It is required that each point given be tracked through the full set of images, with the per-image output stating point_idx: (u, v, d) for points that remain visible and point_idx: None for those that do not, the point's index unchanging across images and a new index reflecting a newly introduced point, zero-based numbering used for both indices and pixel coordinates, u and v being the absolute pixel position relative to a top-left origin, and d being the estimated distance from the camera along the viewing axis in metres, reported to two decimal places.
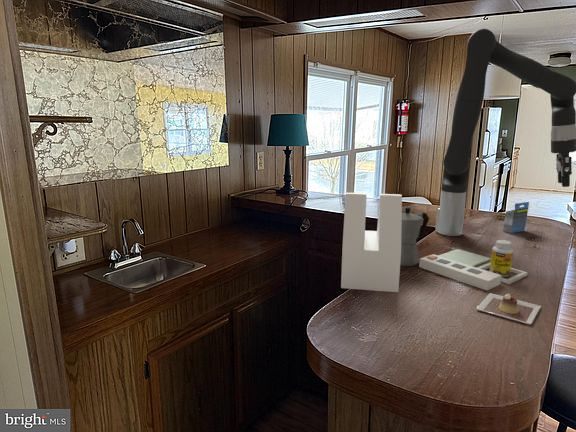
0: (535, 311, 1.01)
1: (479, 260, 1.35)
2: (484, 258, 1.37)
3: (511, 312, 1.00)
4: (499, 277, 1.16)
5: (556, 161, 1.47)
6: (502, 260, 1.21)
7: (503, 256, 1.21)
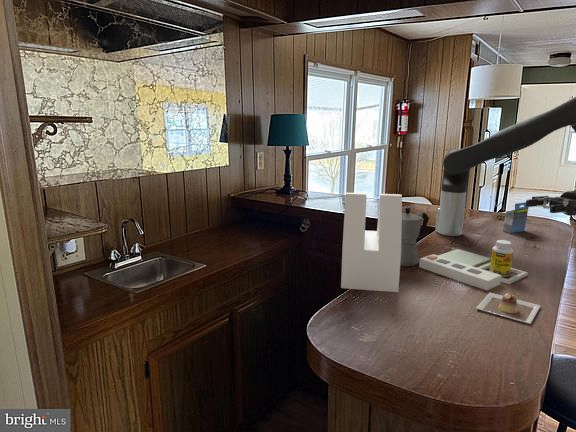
0: (535, 310, 1.01)
1: (479, 260, 1.35)
2: (484, 258, 1.37)
3: (511, 311, 1.01)
4: (499, 277, 1.16)
5: (557, 197, 1.26)
6: (502, 260, 1.21)
7: (503, 256, 1.21)
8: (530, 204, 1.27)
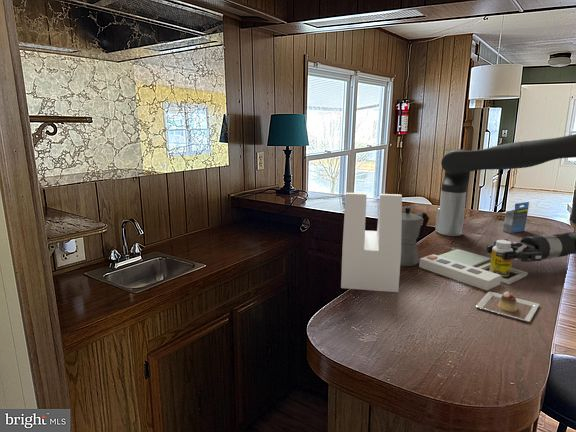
0: (534, 309, 1.02)
1: (479, 260, 1.35)
2: (484, 258, 1.37)
3: (510, 310, 1.02)
4: (499, 277, 1.16)
5: (517, 242, 1.25)
6: (502, 260, 1.21)
7: None
8: (491, 250, 1.25)
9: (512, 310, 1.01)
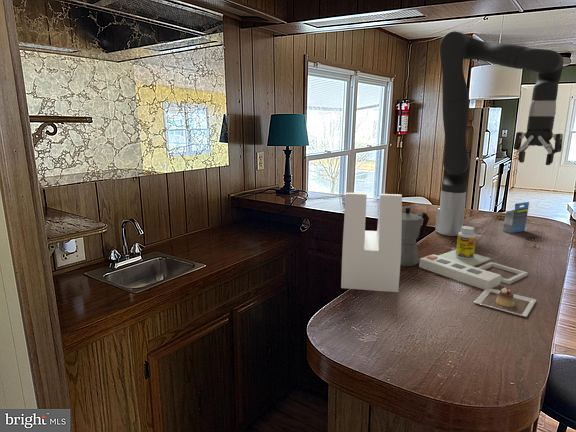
0: (531, 304, 1.04)
1: (479, 260, 1.35)
2: (484, 258, 1.37)
3: (508, 305, 1.04)
4: (499, 277, 1.16)
5: (531, 139, 1.40)
6: (466, 244, 1.34)
7: (467, 240, 1.34)
8: (523, 159, 1.45)
9: (509, 305, 1.04)
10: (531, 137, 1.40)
